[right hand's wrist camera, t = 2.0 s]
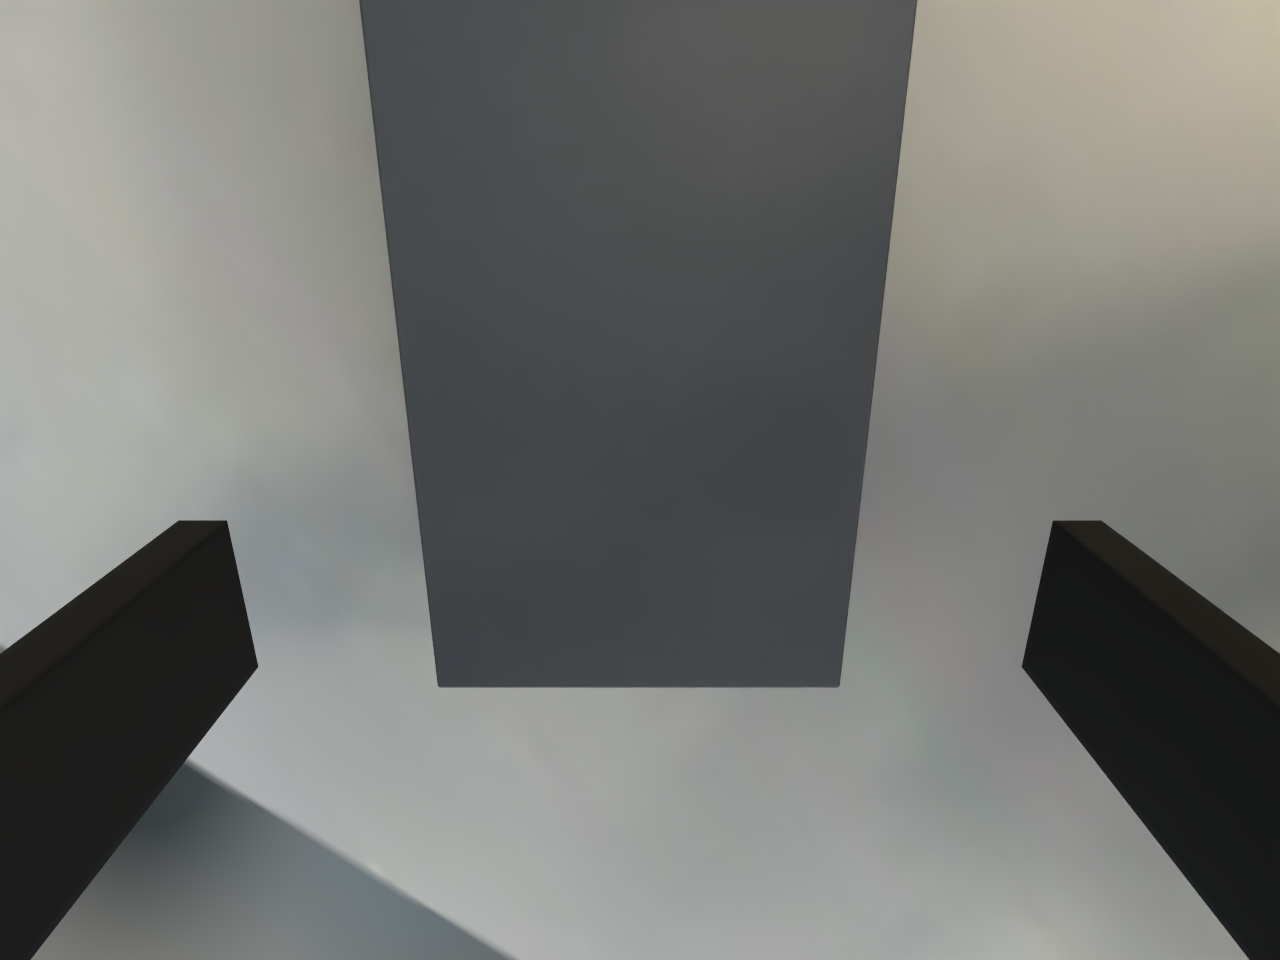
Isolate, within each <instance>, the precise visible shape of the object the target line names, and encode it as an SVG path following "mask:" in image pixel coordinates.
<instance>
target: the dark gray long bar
mask: <svg viewBox="0 0 1280 960" xmlns="http://www.w3.org/2000/svg"><path fill="white" fill-rule="evenodd" d="M359 1H360V10H361V19H362V28H363V36H364V45H365V54H366V63H367V71H368V80H369V89H370V97H371V106H372V115H373V124H374V132H375V141H376V150H377V159H378V167H379V176H380V185H381V193H382V202H383V211H384V220H385V228H386V237H387V246H388V255H389V263H390V272H391V281H392V290H393V298H394V307H395V316H396V324H397V333H398V342H399V351H400V359H401V368H402V377H403V386H404V394H405V403H406V412H407V420H408V429H409V438H410V447H411V455H412V464H413V473H414V482H415V490H416V499H417V508H418V517H419V525H420V534H421V543H422V551H423V560H424V569H425V578H426V586H427V595H428V604H429V613H430V621H431V630H432V639H433V647H434V656H435V665H436V674H437V682H438V686H439V687H839V685H840V678H841V669H842V660H843V652H844V643H845V634H846V625H847V616H848V607H849V599H850V590H851V581H852V572H853V563H854V554H855V545H856V537H857V528H858V519H859V510H860V501H861V492H862V484H863V475H864V466H865V457H866V448H867V439H868V431H869V422H870V413H871V404H872V395H873V386H874V378H875V369H876V360H877V351H878V342H879V333H880V325H881V316H882V307H883V298H884V289H885V280H886V272H887V263H888V254H889V245H890V236H891V227H892V219H893V210H894V201H895V192H896V183H897V174H898V166H899V157H900V148H901V139H902V130H903V121H904V112H905V104H906V95H907V86H908V77H909V68H910V59H911V51H912V42H913V33H914V24H915V15H916V6H917V0H359Z"/></svg>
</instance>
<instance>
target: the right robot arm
mask: <svg viewBox="0 0 1280 960" xmlns="http://www.w3.org/2000/svg"><path fill="white" fill-rule="evenodd" d="M257 668H258V663H257V659H256V654H255V649H254V645H253V640H252V635H251V631H250V626H249V621H248V617H247V612H246V607H245V603H244V598H243V593H242V589H241V584H240V579H239V575H238V570H237V565H236V561H235V556H234V551H233V547H232V542H231V537H230V533H229V528H228V523H227V521H177V522H176V523H175V524H173V525H172V526H171V527H169V528H168V529H167V530H165V531H164V532H163V533H161V534H160V535H159V536H157V537H156V538H155V539H153V540H152V541H151V542H149V543H148V544H147V545H145V546H144V547H143V548H141V549H140V550H139V551H137V552H136V553H135V554H133V555H132V556H131V557H129V558H128V559H127V560H125V561H124V562H123V563H121V564H120V565H119V566H117V567H116V568H115V569H113V570H112V571H111V572H109V573H108V574H107V575H105V576H104V577H103V578H101V579H100V580H99V581H97V582H96V583H95V584H93V585H92V586H90V587H89V588H88V589H86V590H85V591H84V592H82V593H81V594H80V595H78V596H77V597H76V598H74V599H73V600H72V601H70V602H69V603H68V604H66V605H65V606H64V607H62V608H61V609H60V610H58V611H57V612H56V613H54V614H53V615H52V616H50V617H49V618H48V619H46V620H45V621H44V622H42V623H41V624H40V625H38V626H37V627H36V628H34V629H33V630H32V631H30V632H29V633H28V634H26V635H25V636H24V637H22V638H21V639H20V640H18V641H17V642H16V643H14V644H13V645H12V646H10V647H9V648H7V649H6V650H5V651H3V652H2V653H1V654H0V960H30V959H31V958H32V957H33V956H34V954H35V953H36V952H37V950H38V949H39V948H40V947H41V945H42V944H43V943H44V942H45V940H46V939H47V938H48V936H49V935H50V934H51V932H52V931H53V930H54V929H55V927H56V926H57V925H58V924H59V922H60V921H61V920H62V918H63V917H64V916H65V915H66V913H67V912H68V911H69V909H70V908H71V907H72V906H73V904H74V903H75V902H76V900H77V899H78V898H79V897H80V895H81V894H82V893H83V891H84V890H85V889H86V888H87V886H88V885H89V884H90V882H91V881H92V880H93V879H94V877H95V876H96V875H97V873H98V872H99V871H100V870H101V868H102V867H103V866H104V864H105V863H106V862H107V861H108V859H109V858H110V857H111V855H112V854H113V853H114V852H115V850H116V849H117V848H118V846H119V845H120V844H121V843H122V841H123V840H124V839H125V837H126V836H127V835H128V834H129V832H130V831H131V830H132V828H133V827H134V826H135V825H136V823H137V822H138V821H139V819H140V818H141V817H142V816H143V814H144V813H145V812H146V810H147V809H148V808H149V807H150V805H151V804H152V803H153V801H154V800H155V799H156V798H157V796H158V795H159V794H160V792H161V791H162V790H163V788H164V787H165V786H166V785H167V783H168V782H169V781H170V780H171V778H172V777H173V776H174V774H175V773H176V772H177V771H178V769H179V768H180V767H181V765H182V764H183V763H184V762H185V760H186V759H187V758H188V756H189V755H190V754H191V753H192V751H193V750H194V749H195V747H196V746H197V745H198V744H199V742H200V741H201V740H202V738H203V737H204V736H205V735H206V733H207V732H208V731H209V729H210V728H211V727H212V726H213V724H214V723H215V722H216V720H217V719H218V718H219V717H220V715H221V714H222V713H223V711H224V710H225V709H226V708H227V706H228V705H229V704H230V702H231V701H232V700H233V699H234V697H235V696H236V695H237V693H238V692H239V691H240V690H241V688H242V687H243V686H244V684H245V683H246V682H247V681H248V679H249V678H250V677H251V675H252V674H253V673H254V672H255V670H256V669H257ZM1022 668H1023V669H1024V670H1025V672H1026V673H1027V674H1028V675H1029V677H1030V678H1031V679H1032V681H1033V682H1034V683H1035V684H1036V686H1037V687H1038V688H1039V690H1040V691H1041V692H1042V693H1043V695H1044V696H1045V697H1046V699H1047V700H1048V701H1049V702H1050V704H1051V705H1052V706H1053V708H1054V709H1055V710H1056V711H1057V713H1058V714H1059V715H1060V717H1061V718H1062V719H1063V720H1064V722H1065V723H1066V724H1067V726H1068V727H1069V728H1070V729H1071V731H1072V732H1073V733H1074V735H1075V736H1076V737H1077V738H1078V740H1079V741H1080V742H1081V744H1082V745H1083V746H1084V747H1085V749H1086V750H1087V751H1088V753H1089V754H1090V755H1091V756H1092V758H1093V759H1094V760H1095V762H1096V763H1097V764H1098V765H1099V767H1100V768H1101V769H1102V771H1103V772H1104V773H1105V774H1106V776H1107V777H1108V778H1109V780H1110V781H1111V782H1112V783H1113V785H1114V786H1115V787H1116V789H1117V790H1118V791H1119V792H1120V794H1121V795H1122V796H1123V798H1124V799H1125V800H1126V801H1127V803H1128V804H1129V805H1130V807H1131V808H1132V809H1133V810H1134V812H1135V813H1136V814H1137V816H1138V817H1139V818H1140V819H1141V821H1142V822H1143V823H1144V825H1145V826H1146V827H1147V828H1148V830H1149V831H1150V832H1151V834H1152V835H1153V836H1154V837H1155V839H1156V840H1157V841H1158V843H1159V844H1160V845H1161V846H1162V848H1163V849H1164V850H1165V852H1166V853H1167V854H1168V855H1169V857H1170V858H1171V859H1172V861H1173V862H1174V863H1175V864H1176V866H1177V867H1178V868H1179V870H1180V871H1181V872H1182V873H1183V875H1184V876H1185V877H1186V879H1187V880H1188V881H1189V882H1190V884H1191V885H1192V886H1193V888H1194V889H1195V890H1196V891H1197V893H1198V894H1199V895H1200V897H1201V898H1202V899H1203V900H1204V902H1205V903H1206V904H1207V906H1208V907H1209V908H1210V909H1211V911H1212V912H1213V913H1214V915H1215V916H1216V917H1217V918H1218V920H1219V921H1220V922H1221V924H1222V925H1223V926H1224V927H1225V929H1226V930H1227V931H1228V933H1229V934H1230V935H1231V936H1232V938H1233V939H1234V940H1235V942H1236V943H1237V944H1238V945H1239V947H1240V948H1241V949H1242V951H1243V952H1244V953H1245V954H1246V956H1247V957H1248V958H1249V960H1280V654H1279V653H1278V652H1277V651H1275V650H1274V649H1273V648H1271V647H1270V646H1268V645H1267V644H1266V643H1264V642H1263V641H1262V640H1260V639H1259V638H1258V637H1256V636H1255V635H1254V634H1252V633H1251V632H1250V631H1248V630H1247V629H1246V628H1244V627H1243V626H1242V625H1240V624H1239V623H1238V622H1236V621H1235V620H1234V619H1232V618H1231V617H1230V616H1228V615H1227V614H1226V613H1224V612H1223V611H1222V610H1220V609H1219V608H1218V607H1216V606H1215V605H1214V604H1212V603H1211V602H1210V601H1208V600H1207V599H1206V598H1204V597H1203V596H1202V595H1200V594H1199V593H1198V592H1196V591H1195V590H1194V589H1192V588H1191V587H1190V586H1188V585H1187V584H1185V583H1184V582H1183V581H1181V580H1180V579H1179V578H1177V577H1176V576H1175V575H1173V574H1172V573H1171V572H1169V571H1168V570H1167V569H1165V568H1164V567H1163V566H1161V565H1160V564H1159V563H1157V562H1156V561H1155V560H1153V559H1152V558H1151V557H1149V556H1148V555H1147V554H1145V553H1144V552H1143V551H1141V550H1140V549H1139V548H1137V547H1136V546H1135V545H1133V544H1132V543H1131V542H1129V541H1128V540H1127V539H1125V538H1124V537H1123V536H1121V535H1120V534H1119V533H1117V532H1116V531H1115V530H1113V529H1112V528H1111V527H1109V526H1108V525H1107V524H1105V523H1104V522H1102V521H1053V523H1052V528H1051V533H1050V537H1049V542H1048V547H1047V551H1046V556H1045V561H1044V565H1043V570H1042V575H1041V579H1040V584H1039V589H1038V593H1037V598H1036V603H1035V607H1034V612H1033V617H1032V621H1031V626H1030V631H1029V635H1028V640H1027V645H1026V649H1025V654H1024V659H1023V663H1022Z"/></svg>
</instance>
